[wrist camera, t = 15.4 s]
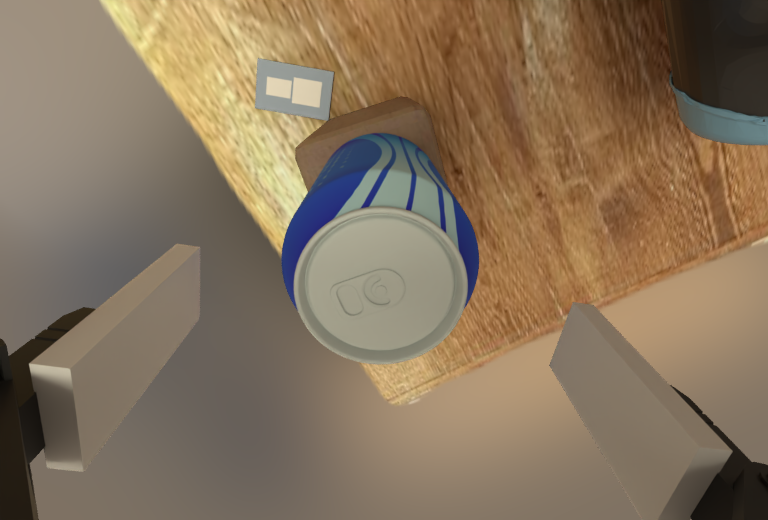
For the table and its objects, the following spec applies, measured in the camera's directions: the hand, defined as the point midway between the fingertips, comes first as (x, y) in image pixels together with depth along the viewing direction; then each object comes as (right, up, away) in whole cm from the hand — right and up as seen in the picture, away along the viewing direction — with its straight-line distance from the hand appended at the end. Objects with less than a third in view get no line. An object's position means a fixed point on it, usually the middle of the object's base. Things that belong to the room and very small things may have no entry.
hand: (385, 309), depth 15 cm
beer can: (0, +7, +16) cm, 17 cm away
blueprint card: (-10, +20, +32) cm, 39 cm away
